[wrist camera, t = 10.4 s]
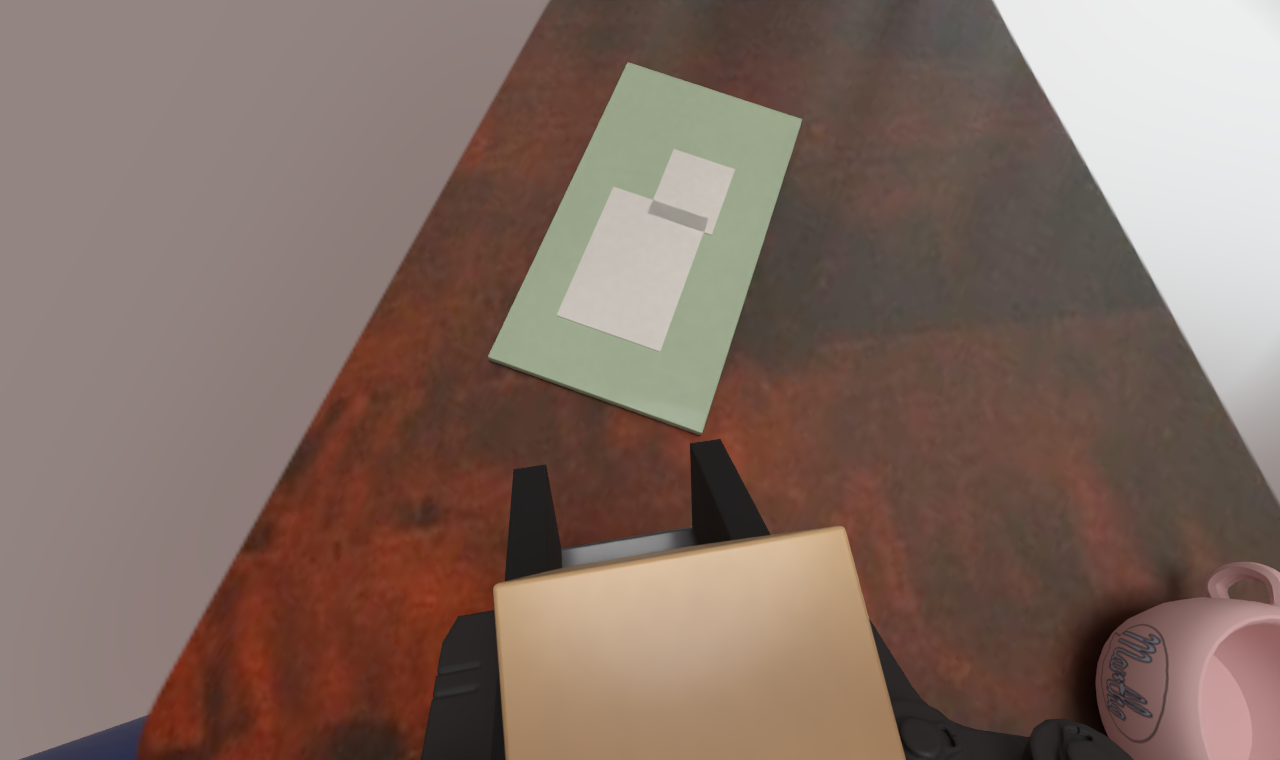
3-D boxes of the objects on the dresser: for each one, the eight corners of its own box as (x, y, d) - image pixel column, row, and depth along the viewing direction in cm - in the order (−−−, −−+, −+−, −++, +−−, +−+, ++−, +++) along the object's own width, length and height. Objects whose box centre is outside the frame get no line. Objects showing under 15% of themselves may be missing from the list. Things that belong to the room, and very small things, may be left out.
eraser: (739, 753, 15) (1120, 1301, 4) (573, 788, 14) (477, 1529, 3) (697, 527, 17) (878, 467, 6) (548, 551, 16) (434, 538, 5)
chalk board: (700, 436, 29) (702, 433, 28) (489, 360, 29) (486, 356, 29) (799, 126, 36) (803, 118, 35) (627, 69, 36) (627, 60, 36)
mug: (1261, 867, 24) (1457, 959, 19) (1046, 772, 25) (1175, 834, 19) (1268, 600, 28) (1434, 611, 23) (1081, 523, 29) (1197, 515, 23)
